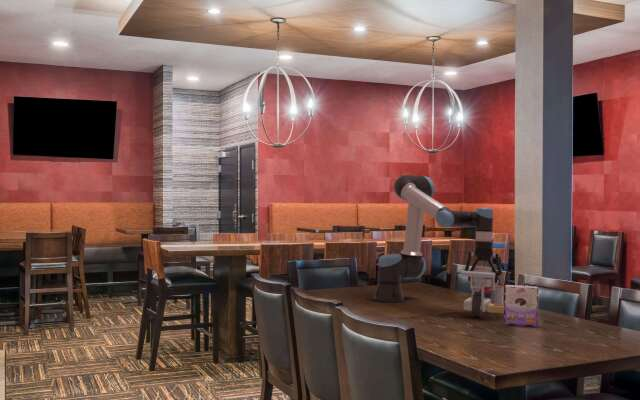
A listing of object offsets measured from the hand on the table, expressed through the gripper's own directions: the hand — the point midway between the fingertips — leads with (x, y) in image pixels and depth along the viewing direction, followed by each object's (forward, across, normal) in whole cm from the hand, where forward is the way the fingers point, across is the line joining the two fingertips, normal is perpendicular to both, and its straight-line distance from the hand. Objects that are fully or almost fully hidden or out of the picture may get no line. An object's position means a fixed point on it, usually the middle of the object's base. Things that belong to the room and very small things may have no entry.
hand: (482, 289), depth 319 cm
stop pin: (+11, +6, +11) cm, 17 cm away
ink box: (+1, 0, 0) cm, 1 cm away
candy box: (+12, +20, -21) cm, 31 cm away
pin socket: (+11, +6, +11) cm, 17 cm away
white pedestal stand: (+11, 0, -11) cm, 16 cm away
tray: (+11, -5, +14) cm, 18 cm away
